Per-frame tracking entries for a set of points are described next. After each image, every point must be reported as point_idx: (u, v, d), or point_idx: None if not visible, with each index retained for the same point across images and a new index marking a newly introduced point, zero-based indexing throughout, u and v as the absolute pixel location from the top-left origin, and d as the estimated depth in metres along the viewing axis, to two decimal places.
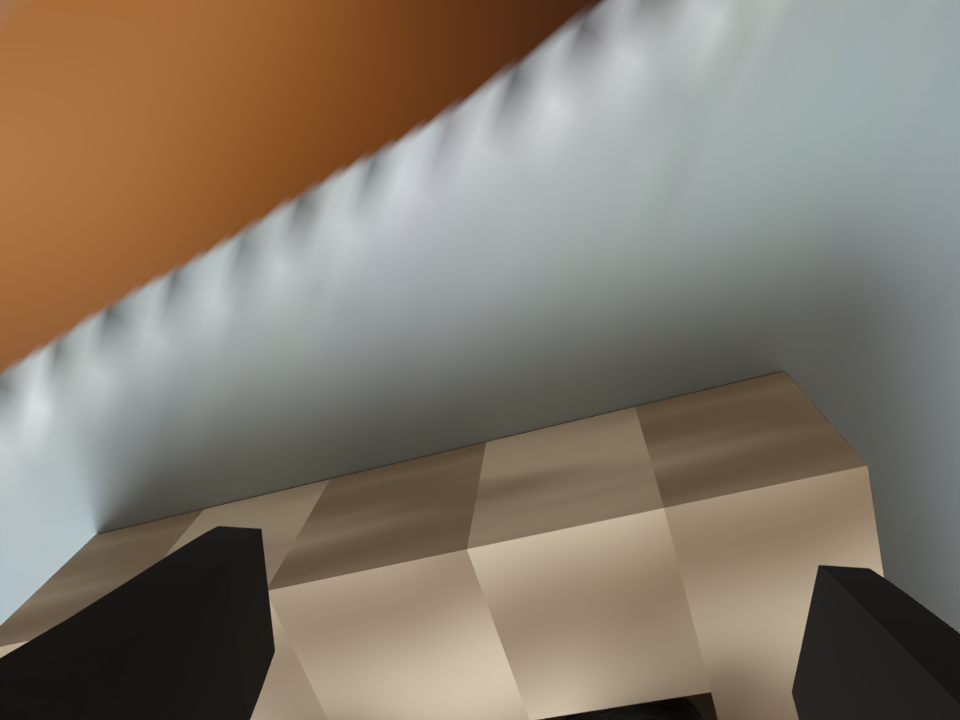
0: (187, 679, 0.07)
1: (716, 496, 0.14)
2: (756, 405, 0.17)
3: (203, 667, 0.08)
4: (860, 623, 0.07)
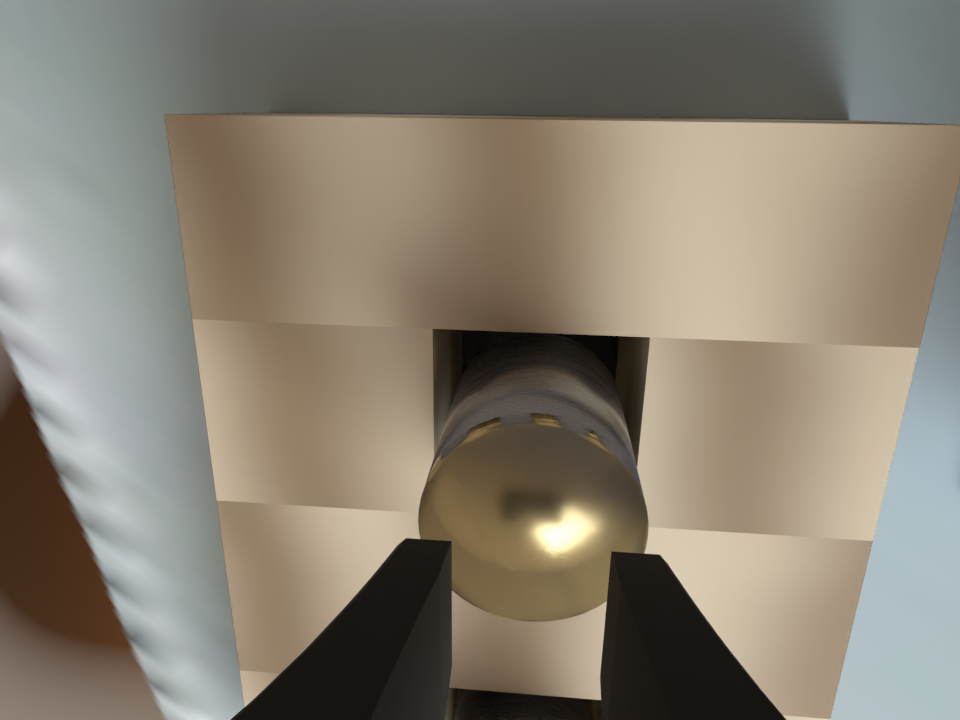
0: (419, 699, 0.07)
1: (186, 267, 0.14)
2: None
3: (425, 686, 0.08)
4: (621, 606, 0.08)
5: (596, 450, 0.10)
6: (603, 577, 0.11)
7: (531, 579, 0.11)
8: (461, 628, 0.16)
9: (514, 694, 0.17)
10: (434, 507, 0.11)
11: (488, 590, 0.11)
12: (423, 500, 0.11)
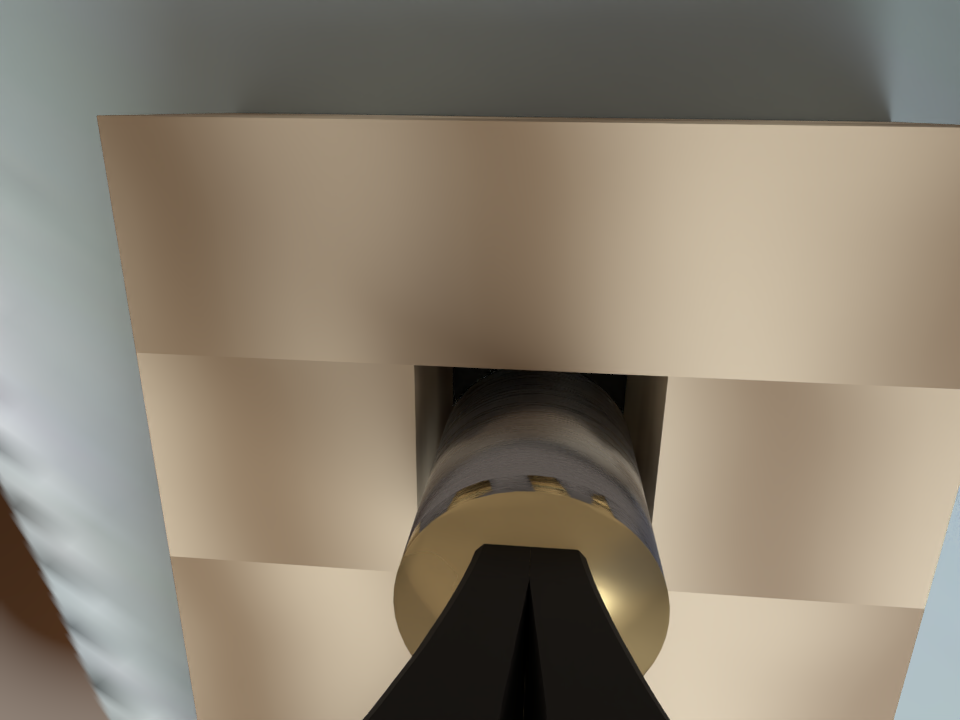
0: (516, 708, 0.07)
1: (128, 293, 0.12)
2: None
3: (518, 693, 0.07)
4: (528, 599, 0.08)
5: (606, 523, 0.09)
6: None
7: None
8: None
9: None
10: (412, 586, 0.09)
11: None
12: (399, 578, 0.09)
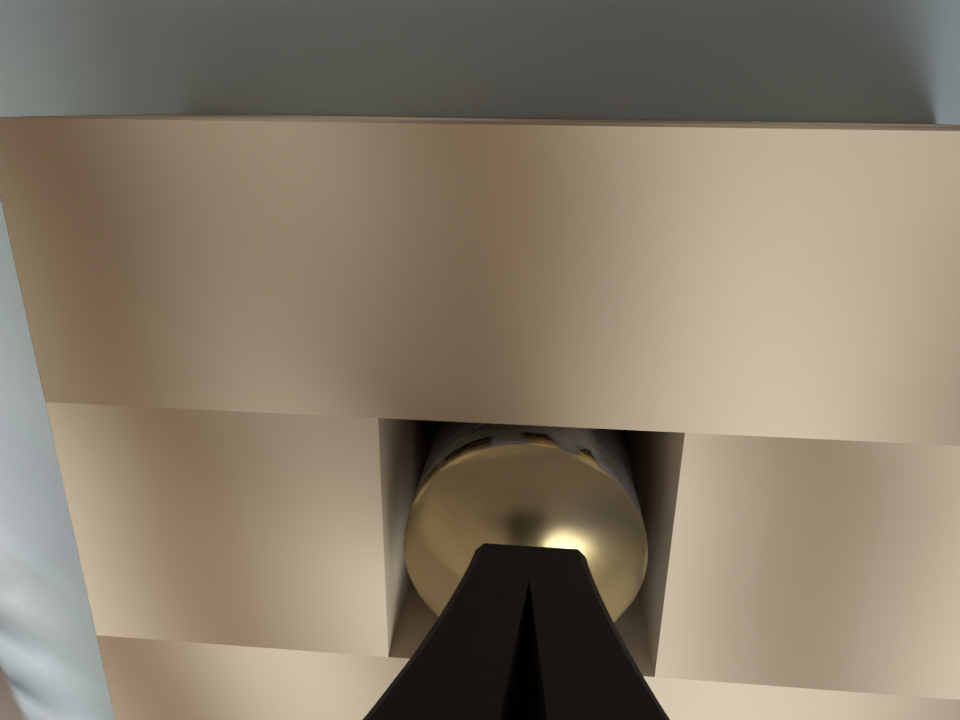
0: (515, 707, 0.07)
1: (32, 332, 0.10)
2: None
3: (518, 693, 0.07)
4: (528, 599, 0.08)
5: (592, 472, 0.10)
6: None
7: None
8: None
9: None
10: (421, 532, 0.10)
11: None
12: (409, 524, 0.10)
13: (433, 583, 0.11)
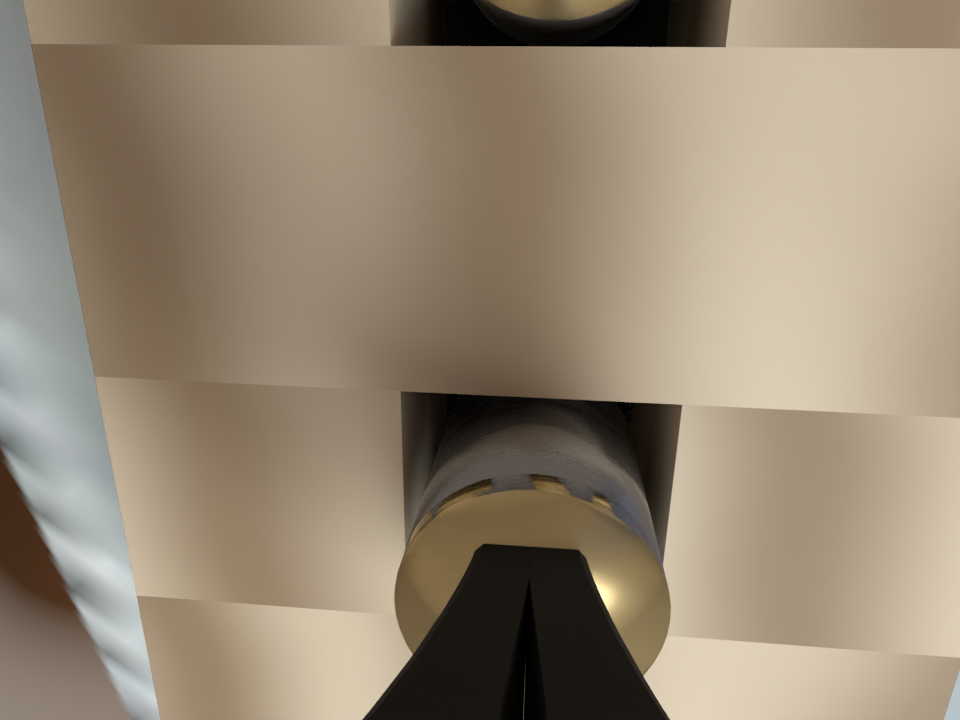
0: (516, 707, 0.07)
1: None
2: None
3: (518, 693, 0.07)
4: (529, 599, 0.08)
5: None
6: None
7: None
8: (437, 277, 0.10)
9: None
10: None
11: None
12: None
13: None
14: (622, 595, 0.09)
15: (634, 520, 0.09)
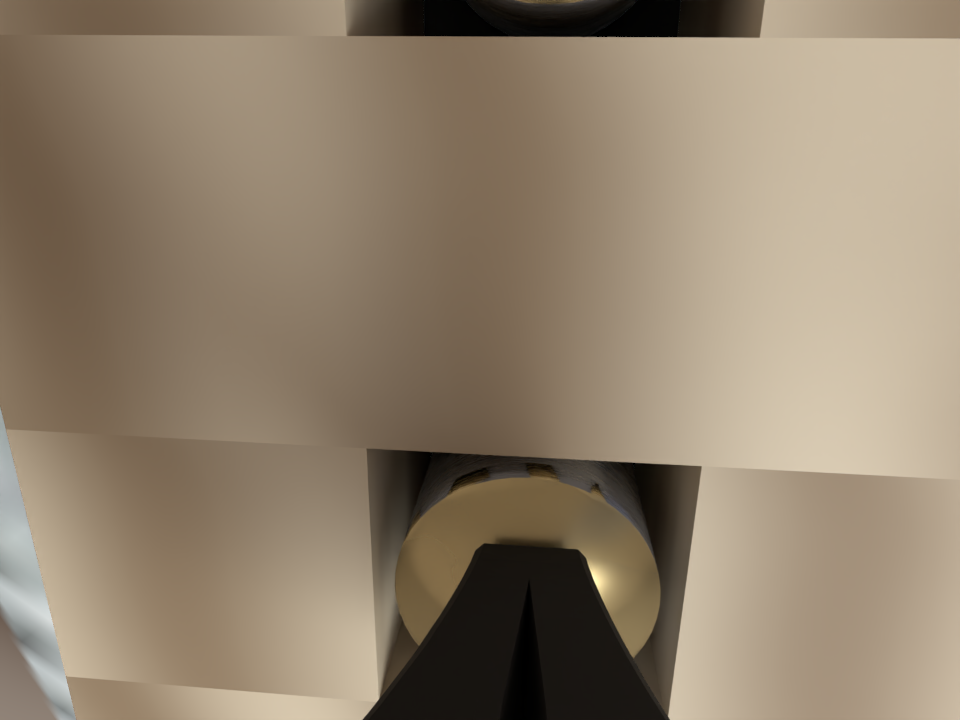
0: (515, 706, 0.07)
1: None
2: None
3: (518, 693, 0.07)
4: (528, 599, 0.08)
5: None
6: None
7: None
8: (408, 315, 0.08)
9: None
10: None
11: None
12: None
13: None
14: (614, 579, 0.09)
15: (625, 507, 0.09)
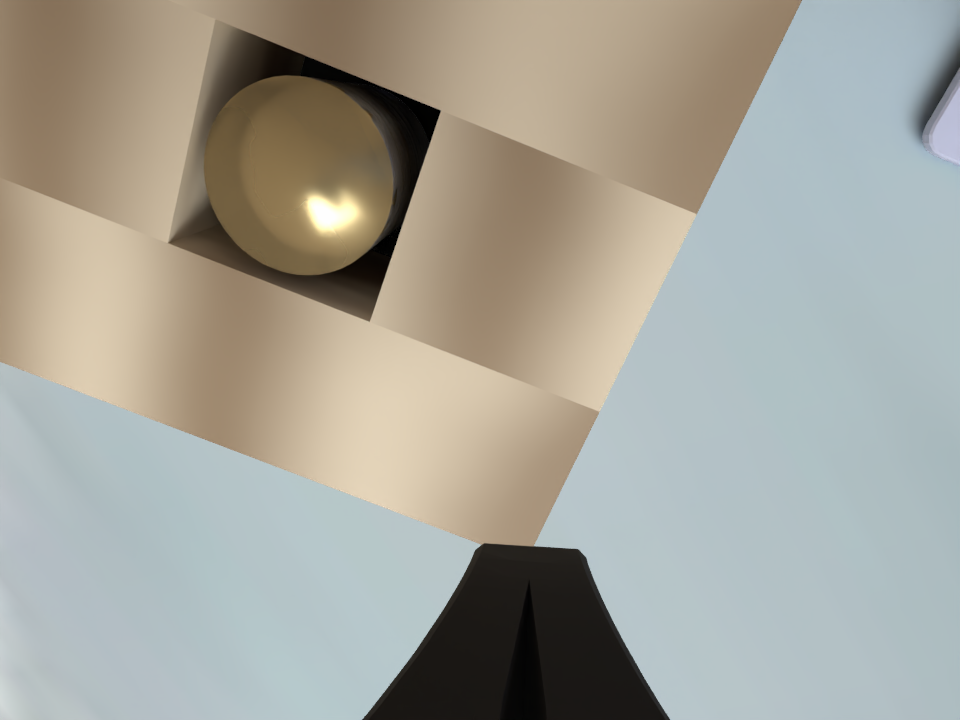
0: (515, 707, 0.07)
1: None
2: None
3: (518, 693, 0.07)
4: (528, 600, 0.08)
5: None
6: None
7: None
8: None
9: (364, 84, 0.16)
10: None
11: None
12: None
13: None
14: (362, 185, 0.13)
15: (386, 138, 0.13)
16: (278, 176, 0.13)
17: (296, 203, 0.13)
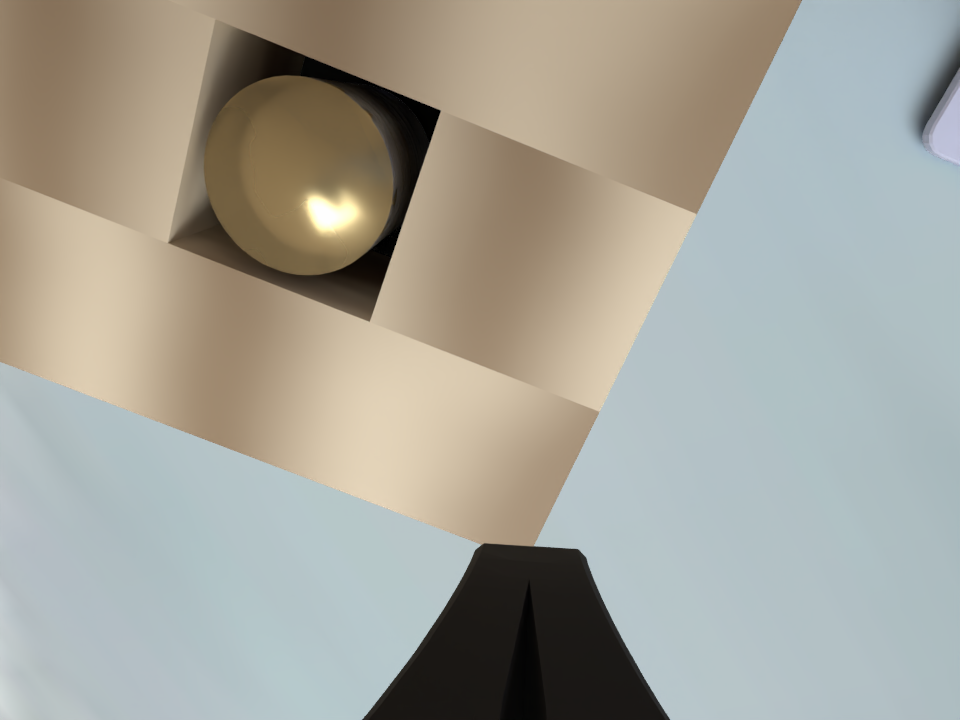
0: (515, 707, 0.07)
1: None
2: None
3: (518, 693, 0.07)
4: (528, 600, 0.08)
5: None
6: None
7: None
8: None
9: (364, 84, 0.16)
10: None
11: None
12: None
13: None
14: (362, 185, 0.13)
15: (386, 138, 0.13)
16: (278, 176, 0.13)
17: (296, 203, 0.13)
